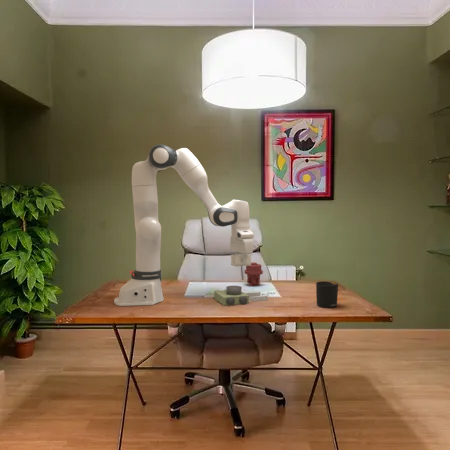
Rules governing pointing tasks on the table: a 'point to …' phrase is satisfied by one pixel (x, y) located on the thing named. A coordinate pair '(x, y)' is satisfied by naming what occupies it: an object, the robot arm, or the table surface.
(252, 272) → the mechanical component
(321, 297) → the pen holder
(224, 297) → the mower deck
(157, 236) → the robot arm
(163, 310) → the table surface
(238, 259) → the chute
